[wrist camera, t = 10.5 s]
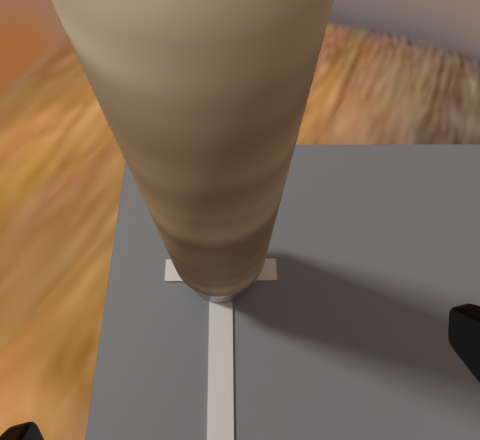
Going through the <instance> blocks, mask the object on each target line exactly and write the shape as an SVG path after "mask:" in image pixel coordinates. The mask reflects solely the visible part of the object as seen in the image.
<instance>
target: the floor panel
mask: <svg viewBox="0 0 480 440" xmlns="http://www.w3.org/2000/svg"><path fill="white" fill-rule="evenodd" d="M467 303H470V304H475V305H478V306H480V145H295V148H294V152H293V156H292V160H291V164H290V167H289V171H288V175H287V179H286V183H285V186H284V190H283V194H282V198H281V202H280V206H279V209H278V213H277V217H276V221H275V225H274V228H273V232H272V236H271V240H270V244H269V247H268V251H267V255H266V259H265V263H264V266H263V268H262V271H261V273H260V274H259V276H258V277H257V279H256V280H255V281H254V282H253V283H252V284H251V286H250V287H249V289H248V290H247V292H246V293H245V294H244V295H243V296H241V297H240V298H238V299H237V300H235V301H232V302H228V303H212V302H209V301H207V300H204V299H203V298H201V297H200V296H199V295H197V294H196V292H195V291H194V290H193V289H191V288H190V287H189V286H188V285H186V284H185V283H184V282H183V280H182V279H181V278H180V276H179V275H178V273H177V271H176V269H175V267H174V265H173V263H172V260H171V258H170V256H169V254H168V252H167V250H166V247H165V245H164V243H163V241H162V239H161V237H160V234H159V232H158V230H157V228H156V226H155V223H154V221H153V219H152V217H151V215H150V213H149V210H148V208H147V206H146V204H145V202H144V200H143V197H142V195H141V193H140V191H139V189H138V187H137V184H136V182H135V180H134V178H133V176H132V174H131V171H130V169H129V167H128V165H127V163H126V162H125V169H124V176H123V183H122V190H121V196H120V203H119V210H118V217H117V224H116V231H115V238H114V245H113V252H112V258H111V265H110V272H109V279H108V286H107V293H106V300H105V307H104V314H103V320H102V327H101V334H100V341H99V348H98V355H97V362H96V369H95V376H94V383H93V389H92V396H91V403H90V410H89V417H88V424H87V431H86V438H85V440H480V383H479V382H478V381H477V379H476V378H475V377H474V375H473V374H472V373H471V372H470V370H469V369H468V368H467V366H466V365H465V364H464V363H463V361H462V360H461V359H460V358H459V356H458V355H457V354H456V352H455V351H454V350H453V348H452V347H451V345H450V343H449V339H448V325H449V311H450V310H451V308H453V307H455V306H459V305H462V304H467Z"/></svg>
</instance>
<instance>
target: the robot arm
mask: <svg viewBox="0 0 480 440" xmlns="http://www.w3.org/2000/svg"><path fill="white" fill-rule="evenodd" d="M448 339H449V343H450V345H451V347H452V348H453V350H454V351H455V352H456V354H457V355H458V356H459V358H460V359H461V360H462V361H463V363H464V364H465V365H466V366H467V368H468V369H469V370H470V372H471V373H472V374H473V375H474V377H475V378H476V379H477V381H478V382H479V383H480V306H478V305H475V304H470V303H467V304H462V305H459V306H455V307H453V308H451V310H450V311H449V325H448ZM0 440H44V439H43V437H42V435H41V432H40V430H39V428H38V426H37V425H36V424H35V423H34V422H26V423H23V424H19V425H15V426H12V427H10V428H9V429H7V430H6V431H5V432H4V433H3V434H2V435H1V436H0Z"/></svg>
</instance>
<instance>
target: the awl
mask: <svg viewBox="0 0 480 440" xmlns="http://www.w3.org/2000/svg"><path fill="white" fill-rule="evenodd" d="M52 2H53V5H54V7H55V9H56V11H57V13H58V15H59V18H60V20H61V22H62V24H63V26H64V28H65V31H66V33H67V35H68V37H69V39H70V41H71V44H72V46H73V48H74V50H75V52H76V54H77V57H78V59H79V61H80V63H81V65H82V67H83V70H84V72H85V74H86V76H87V78H88V80H89V83H90V85H91V87H92V89H93V91H94V93H95V96H96V98H97V100H98V102H99V104H100V106H101V109H102V111H103V113H104V115H105V117H106V119H107V122H108V124H109V126H110V128H111V130H112V132H113V135H114V137H115V139H116V141H117V143H118V145H119V148H120V150H121V152H122V154H123V156H124V158H125V161H126V163H127V165H128V167H129V169H130V171H131V174H132V176H133V178H134V180H135V182H136V184H137V187H138V189H139V191H140V193H141V195H142V197H143V200H144V202H145V204H146V206H147V208H148V210H149V213H150V215H151V217H152V219H153V221H154V223H155V226H156V228H157V230H158V232H159V234H160V237H161V239H162V241H163V243H164V245H165V247H166V250H167V252H168V254H169V256H170V258H171V260H172V263H173V265H174V267H175V269H176V271H177V273H178V275H179V276H180V278H181V279H182V280H183V282H184V283H185V284H186V285H188V286H189V287H190V288H191V289H193V290H194V291H195V292H196V294H197V295H199V296H200V297H201V298H203V299H204V300H207V301H209V302H212V303H228V302H232V301H235V300H237V299H238V298H240V297H241V296H243V295H244V294H245V293H246V292H247V290H248V289H249V287H250V286H251V284H252V283H253V282H254V281H255V280H256V279H257V277H258V276H259V274H260V273H261V271H262V268H263V266H264V263H265V259H266V255H267V251H268V247H269V244H270V240H271V236H272V232H273V228H274V225H275V221H276V217H277V213H278V209H279V206H280V202H281V198H282V194H283V190H284V186H285V183H286V179H287V175H288V171H289V167H290V164H291V160H292V156H293V152H294V148H295V145H296V141H297V137H298V133H299V129H300V126H301V122H302V118H303V114H304V110H305V107H306V103H307V99H308V95H309V91H310V87H311V84H312V80H313V76H314V72H315V68H316V65H317V61H318V57H319V53H320V49H321V46H322V42H323V38H324V34H325V30H326V27H327V23H328V19H329V15H330V11H331V8H332V4H333V0H52Z"/></svg>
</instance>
